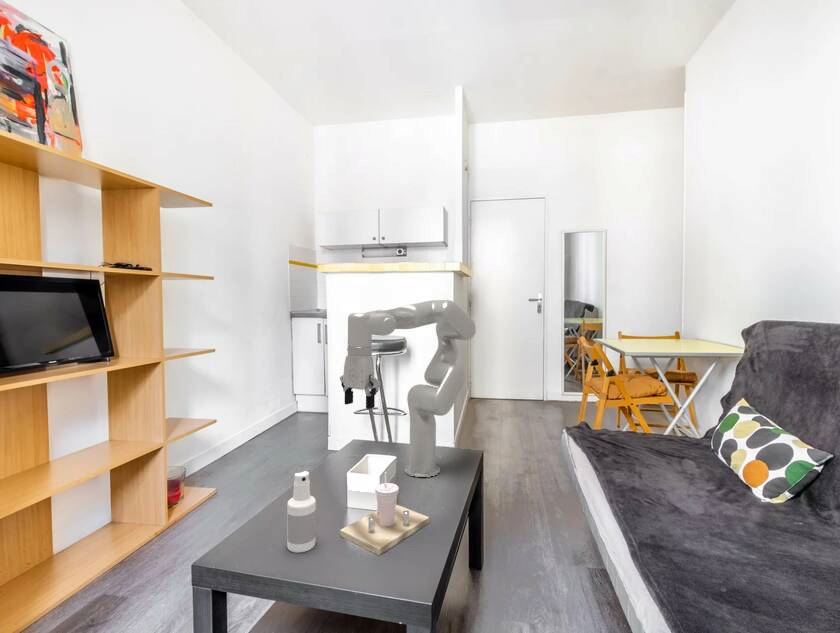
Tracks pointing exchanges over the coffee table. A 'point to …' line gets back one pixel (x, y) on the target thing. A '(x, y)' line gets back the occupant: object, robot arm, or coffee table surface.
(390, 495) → the smoothie
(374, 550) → the pin board
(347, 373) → the robot arm
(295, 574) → the coffee table surface
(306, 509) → the spray bottle
